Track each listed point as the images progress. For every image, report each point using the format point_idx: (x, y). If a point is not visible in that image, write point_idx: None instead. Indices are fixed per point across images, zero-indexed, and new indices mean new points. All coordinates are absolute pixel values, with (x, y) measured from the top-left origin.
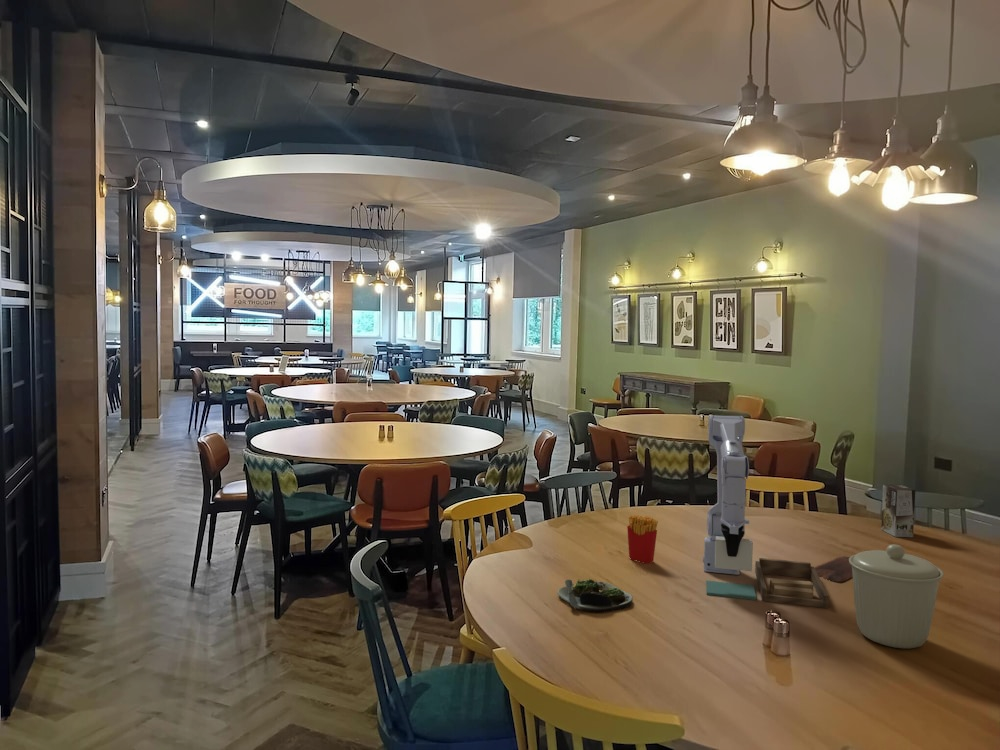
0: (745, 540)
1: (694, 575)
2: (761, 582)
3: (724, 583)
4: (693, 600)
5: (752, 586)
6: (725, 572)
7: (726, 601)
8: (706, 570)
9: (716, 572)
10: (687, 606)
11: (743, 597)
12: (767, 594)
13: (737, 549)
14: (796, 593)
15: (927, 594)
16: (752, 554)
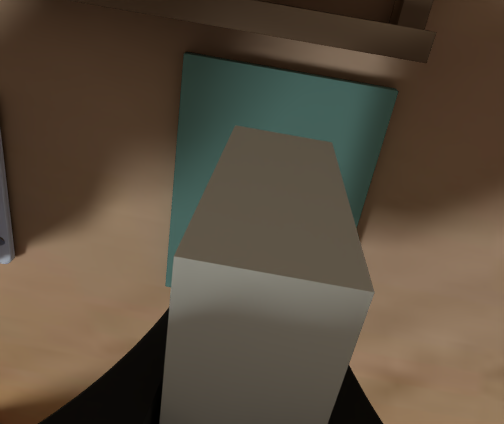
0: (263, 360)
1: (82, 306)
2: (287, 34)
3: (189, 213)
4: (400, 366)
5: (204, 65)
6: (1, 168)
7: (412, 245)
8: (11, 255)
9: (9, 208)
10: (466, 396)
11: (376, 158)
12: (405, 18)
13: (356, 382)
14: None
15: None
16: (349, 204)
